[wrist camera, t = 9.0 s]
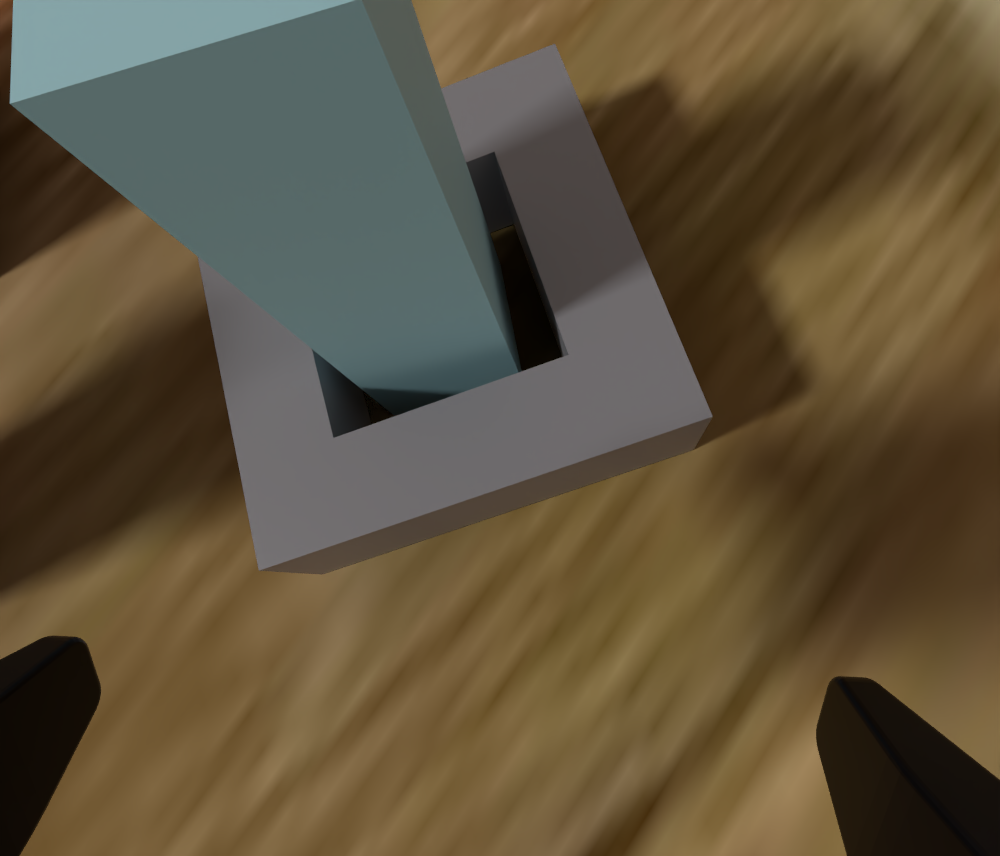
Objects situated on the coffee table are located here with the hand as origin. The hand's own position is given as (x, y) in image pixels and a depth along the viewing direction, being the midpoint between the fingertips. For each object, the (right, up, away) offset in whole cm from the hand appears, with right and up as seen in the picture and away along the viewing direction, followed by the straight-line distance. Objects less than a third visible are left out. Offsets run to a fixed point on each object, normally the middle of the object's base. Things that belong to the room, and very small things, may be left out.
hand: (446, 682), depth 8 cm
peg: (-1, +6, +12) cm, 13 cm away
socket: (-1, +6, +12) cm, 13 cm away
